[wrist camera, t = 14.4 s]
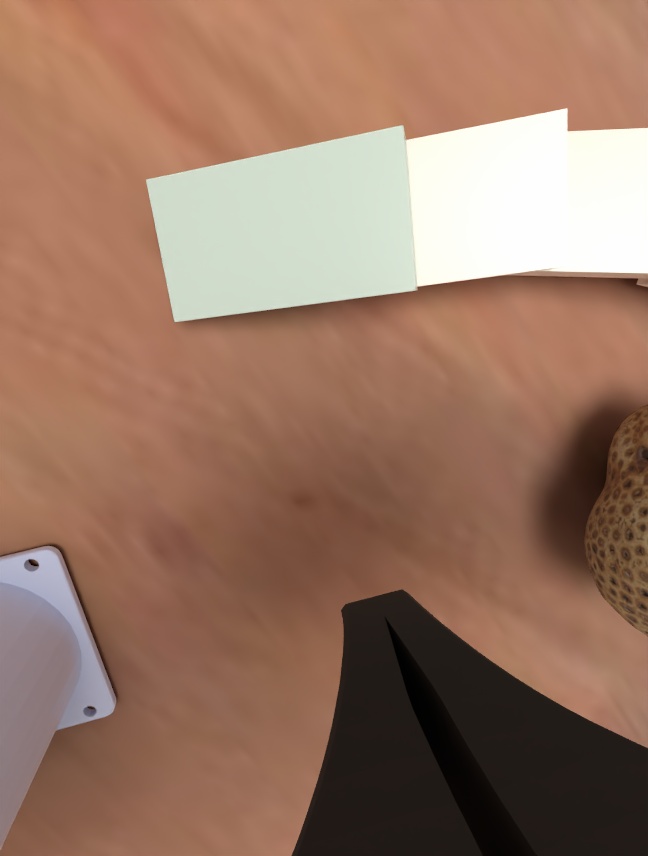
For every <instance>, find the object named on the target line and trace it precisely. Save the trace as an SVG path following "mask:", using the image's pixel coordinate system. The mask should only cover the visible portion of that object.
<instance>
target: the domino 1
mask: <svg viewBox="0 0 648 856" xmlns="http://www.w3.org/2000/svg"><path fill="white" fill-rule="evenodd" d="M146 182H147V187H148V192H149V197H150V202H151V207H152V212H153V217H154V222H155V227H156V232H157V237H158V242H159V247H160V252H161V257H162V262H163V267H164V272H165V277H166V282H167V287H168V292H169V297H170V302H171V307H172V312H173V317H174V322H179V321H187V320H195V319H203V318H210V317H218V316H226V315H233V314H241V313H248V312H256V311H264V310H271V309H279V308H287V307H294V306H302V305H309V304H317V303H325V302H332V301H340V300H347V299H355V298H363V297H370V296H378V295H386V294H393V293H401V292H408V291H416V290H418V289H417V276H416V263H415V250H414V236H413V223H412V210H411V196H410V183H409V170H408V156H407V143H406V138H405V132H404V127H403V125H401V126H396V127H392V128H387V129H382V130H378V131H373V132H368V133H364V134H359V135H354V136H350V137H345V138H340V139H335V140H331V141H326V142H321V143H317V144H312V145H307V146H303V147H298V148H293V149H288V150H284V151H279V152H274V153H270V154H265V155H260V156H256V157H251V158H246V159H241V160H237V161H232V162H227V163H223V164H218V165H213V166H209V167H204V168H199V169H194V170H190V171H185V172H180V173H176V174H171V175H166V176H162V177H157V178H152V179H148V180H146Z"/></svg>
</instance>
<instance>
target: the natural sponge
mask: <svg viewBox="0 0 648 856" xmlns="http://www.w3.org/2000/svg"><path fill="white" fill-rule="evenodd" d="M584 546H585V552H586V559H587V562H588V565H589V568H590V571H591V573H592V576H593V578H594V580H595V583H596V585H597V587H598V589H599V591H600V593H601V595H602V596H603V598H604V599H605V600H606V601H607V602H608V603H609V604H610V605H611V606H612V607H613V608H614V609H615V610H616V611H617V612H618V613H619V614H620V615H621V616H622V617H623V618H624V619H625V620H626V621H627V622H629V623H630V624H631V625H632V626H634V627H635V628H636V629H638V630H639V631H641V632H642V633H644V634H645V635H647V636H648V405H646V406H643V407H641V408H639V409H638V410H636V411H635V412H634V413H632V414H631V415H629V416H628V417H627V418H626V419H625V420H624V421H623V422H622V424H621V425H620V426H619V428H618V429H617V431H616V433H615V435H614V437H613V440H612V443H611V446H610V449H609V453H608V463H607V478H606V482H605V485H604V489H603V490H602V492H601V494H600V496H599V497H598V499H597V501H596V503H595V504H594V506H593V508H592V511H591V513H590V515H589V518H588V521H587V525H586V529H585V539H584Z"/></svg>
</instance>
